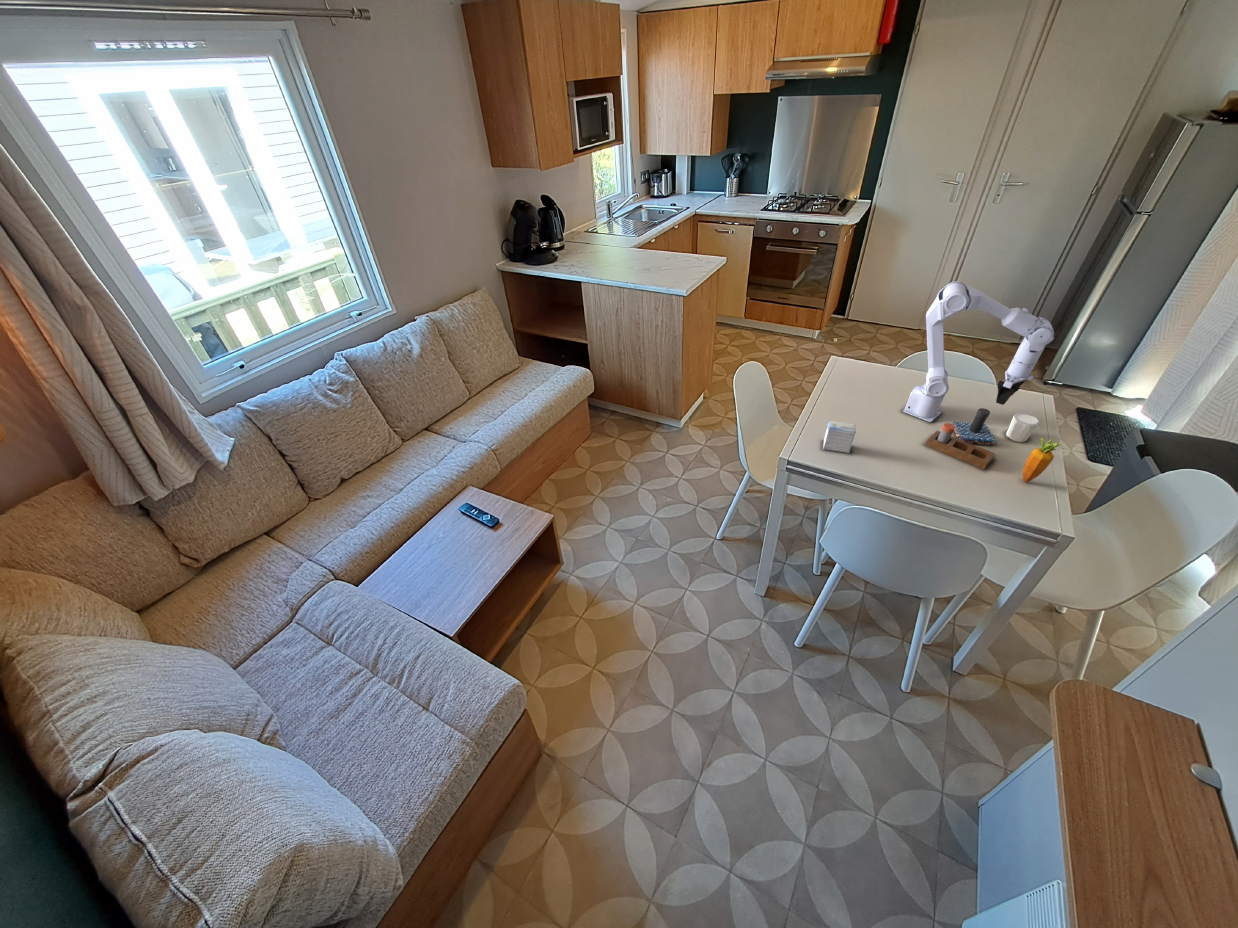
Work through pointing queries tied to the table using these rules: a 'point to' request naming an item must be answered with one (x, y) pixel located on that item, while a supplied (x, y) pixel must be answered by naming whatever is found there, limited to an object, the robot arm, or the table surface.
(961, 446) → the marker stand
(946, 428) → the grey marker
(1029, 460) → the carrot
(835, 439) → the medicine box
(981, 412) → the cylinder
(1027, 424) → the white cylinder
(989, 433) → the woven mat
